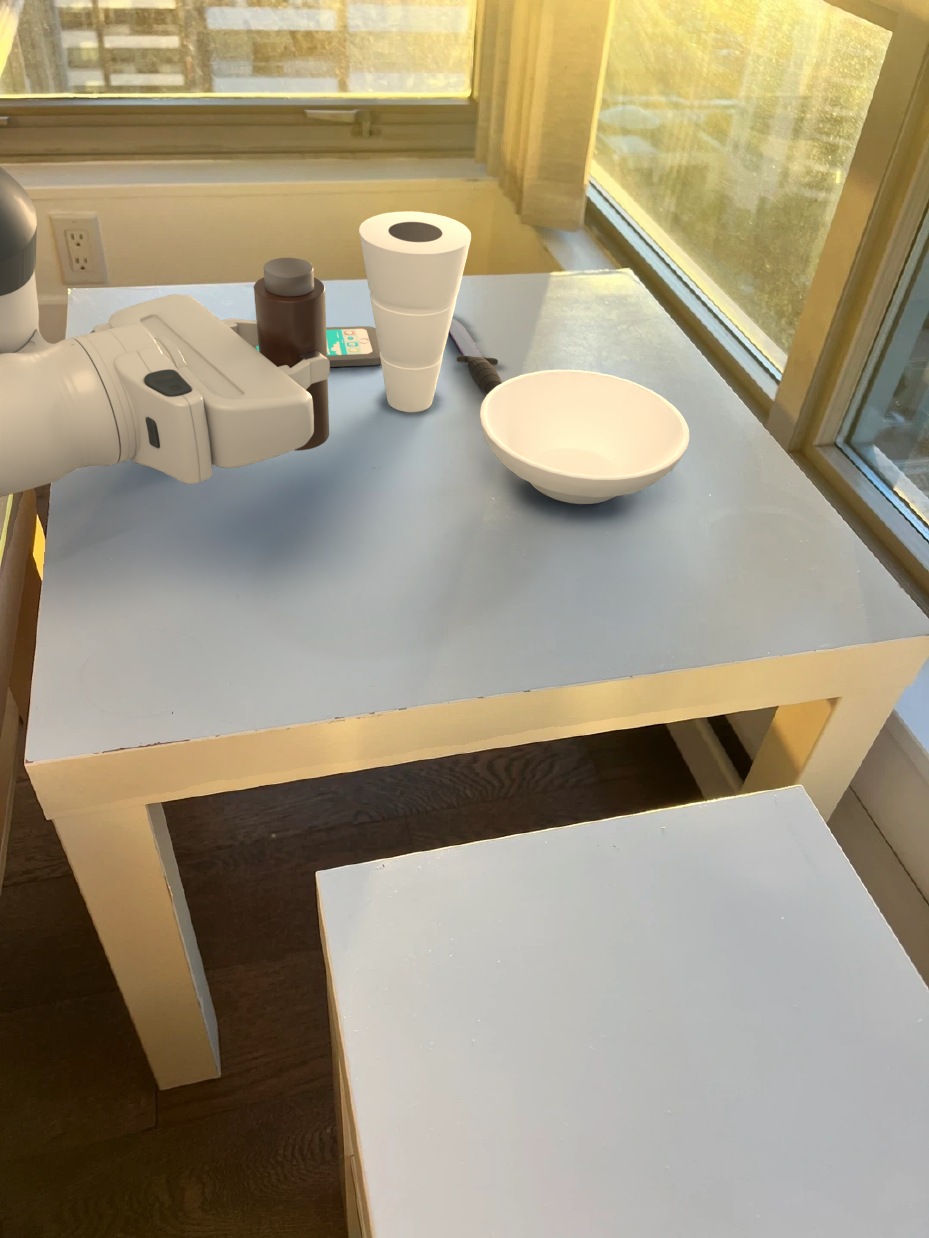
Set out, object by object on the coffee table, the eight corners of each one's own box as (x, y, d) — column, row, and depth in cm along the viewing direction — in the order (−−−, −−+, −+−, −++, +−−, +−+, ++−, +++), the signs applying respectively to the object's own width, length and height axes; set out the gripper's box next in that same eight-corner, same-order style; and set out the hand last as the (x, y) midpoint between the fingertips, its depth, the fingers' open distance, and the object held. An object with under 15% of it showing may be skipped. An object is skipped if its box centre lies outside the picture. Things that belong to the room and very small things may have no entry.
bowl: (434, 488, 91) (438, 426, 87) (539, 409, 104) (547, 350, 99) (616, 570, 84) (631, 506, 79) (705, 474, 96) (722, 414, 92)
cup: (393, 367, 108) (396, 203, 96) (476, 394, 105) (490, 228, 93) (340, 407, 101) (336, 235, 89) (428, 437, 98) (436, 263, 86)
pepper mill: (278, 456, 77) (266, 285, 67) (256, 424, 80) (242, 258, 71) (339, 443, 79) (335, 275, 69) (315, 413, 82) (308, 249, 73)
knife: (526, 389, 102) (481, 386, 100) (521, 410, 103) (477, 407, 102) (467, 306, 120) (429, 302, 118) (464, 324, 121) (425, 321, 120)
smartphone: (387, 357, 108) (251, 362, 105) (387, 365, 108) (251, 371, 105) (376, 323, 114) (247, 327, 111) (376, 331, 114) (247, 335, 111)
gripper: (84, 371, 76) (242, 332, 83) (202, 497, 64) (374, 440, 71) (68, 294, 72) (235, 260, 78) (191, 415, 60) (375, 362, 67)
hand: (303, 346), depth 75 cm, fingers closed on pepper mill, 5 cm apart
